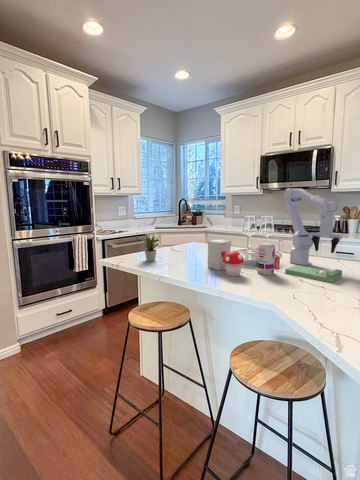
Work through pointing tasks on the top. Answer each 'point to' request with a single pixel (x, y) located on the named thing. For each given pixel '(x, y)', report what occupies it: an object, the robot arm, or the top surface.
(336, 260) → the top surface
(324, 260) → the top surface
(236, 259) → the mushroom
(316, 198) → the robot arm
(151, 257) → the house plant
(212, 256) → the supplement box
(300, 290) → the top surface
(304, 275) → the green holed board
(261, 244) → the supplement can
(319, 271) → the ball
